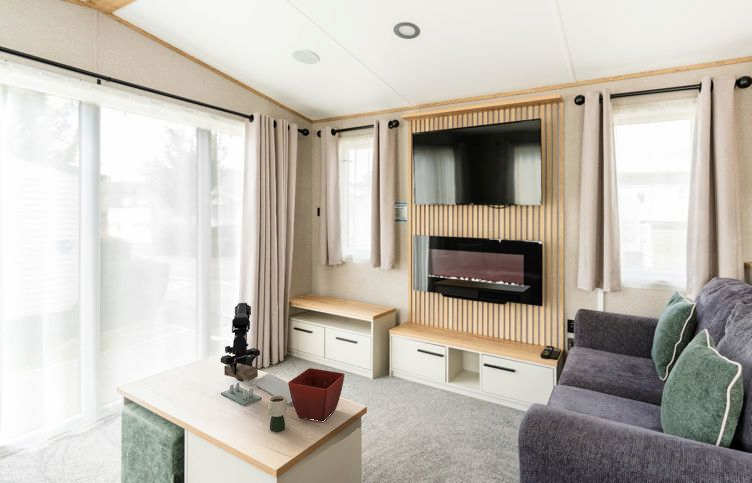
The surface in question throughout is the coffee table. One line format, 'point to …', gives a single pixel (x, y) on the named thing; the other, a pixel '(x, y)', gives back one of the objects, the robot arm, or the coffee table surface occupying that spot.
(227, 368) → the walnut shelf board
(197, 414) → the coffee table surface
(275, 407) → the character mug
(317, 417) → the plant pot
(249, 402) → the peg base
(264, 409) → the coffee table surface
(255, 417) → the coffee table surface
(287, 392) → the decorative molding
